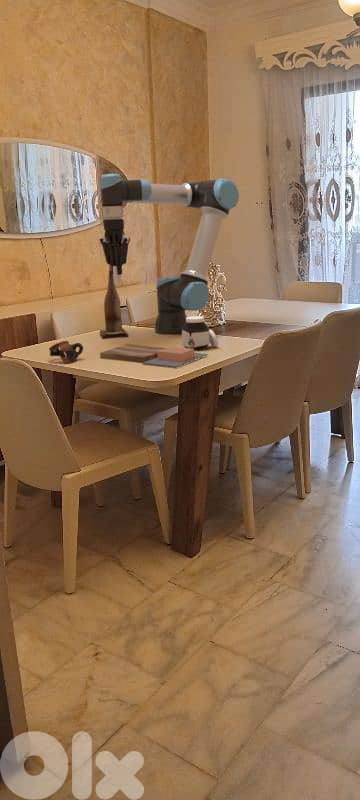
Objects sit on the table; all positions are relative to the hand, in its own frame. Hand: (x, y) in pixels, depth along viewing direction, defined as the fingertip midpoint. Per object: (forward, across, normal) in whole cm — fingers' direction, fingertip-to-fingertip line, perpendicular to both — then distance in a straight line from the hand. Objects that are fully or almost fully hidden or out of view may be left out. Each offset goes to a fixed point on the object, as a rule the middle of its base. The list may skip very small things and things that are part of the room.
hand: (117, 283), depth 240 cm
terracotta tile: (+24, +33, -11) cm, 42 cm away
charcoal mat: (+24, +32, -11) cm, 42 cm away
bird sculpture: (+25, -18, +17) cm, 35 cm away
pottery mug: (+25, -4, -27) cm, 37 cm away
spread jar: (+25, +30, +10) cm, 40 cm away
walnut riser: (+24, +15, -11) cm, 31 cm away
